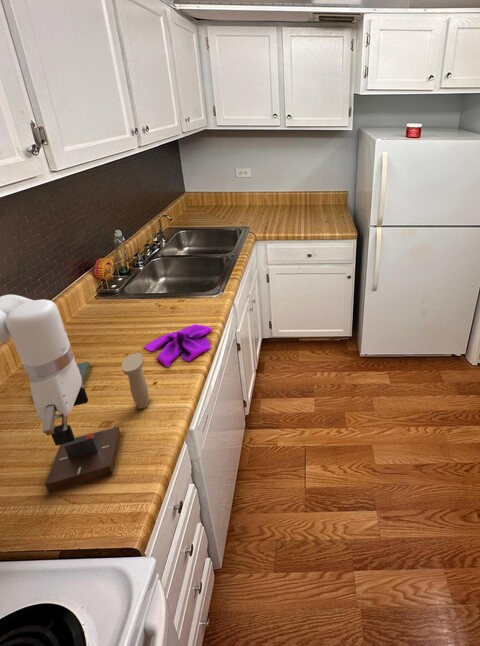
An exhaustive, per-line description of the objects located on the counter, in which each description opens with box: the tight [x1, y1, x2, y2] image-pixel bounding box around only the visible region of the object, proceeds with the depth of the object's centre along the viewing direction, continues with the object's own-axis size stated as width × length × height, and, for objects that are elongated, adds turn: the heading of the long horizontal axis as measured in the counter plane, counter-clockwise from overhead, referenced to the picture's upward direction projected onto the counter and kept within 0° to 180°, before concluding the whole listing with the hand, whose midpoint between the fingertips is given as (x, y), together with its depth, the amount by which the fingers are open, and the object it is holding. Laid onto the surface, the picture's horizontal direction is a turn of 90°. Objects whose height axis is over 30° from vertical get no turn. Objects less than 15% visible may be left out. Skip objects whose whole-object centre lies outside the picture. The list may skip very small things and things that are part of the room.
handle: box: [121, 352, 150, 410], centre depth 88 cm, size 5×6×15 cm
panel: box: [44, 426, 122, 494], centre depth 76 cm, size 12×10×3 cm
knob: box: [64, 432, 99, 460], centre depth 75 cm, size 6×2×5 cm, turn 109°
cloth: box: [144, 324, 213, 368], centre depth 112 cm, size 22×19×6 cm
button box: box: [78, 361, 91, 384], centre depth 97 cm, size 11×9×4 cm
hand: (73, 421), depth 72 cm, fingers open, 9 cm apart
